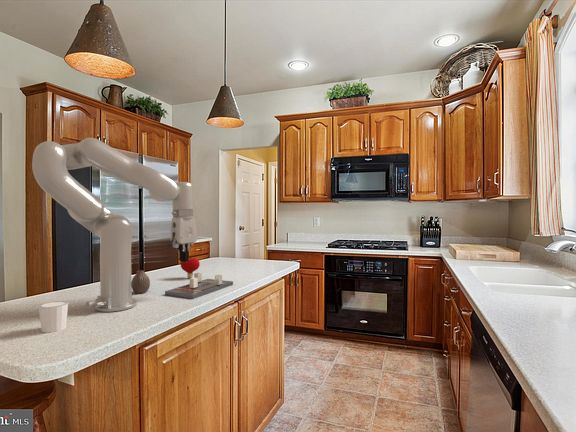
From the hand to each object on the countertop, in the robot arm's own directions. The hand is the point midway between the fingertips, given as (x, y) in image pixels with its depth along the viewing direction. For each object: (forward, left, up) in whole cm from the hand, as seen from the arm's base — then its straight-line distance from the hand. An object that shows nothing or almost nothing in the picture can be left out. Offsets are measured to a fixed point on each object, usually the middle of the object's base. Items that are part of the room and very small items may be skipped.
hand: (184, 261), depth 130 cm
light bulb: (+26, +20, -14) cm, 36 cm away
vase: (-4, +19, -14) cm, 24 cm away
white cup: (-44, +7, -14) cm, 46 cm away
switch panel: (+10, 0, -13) cm, 17 cm away
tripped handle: (+6, 0, -11) cm, 13 cm away
